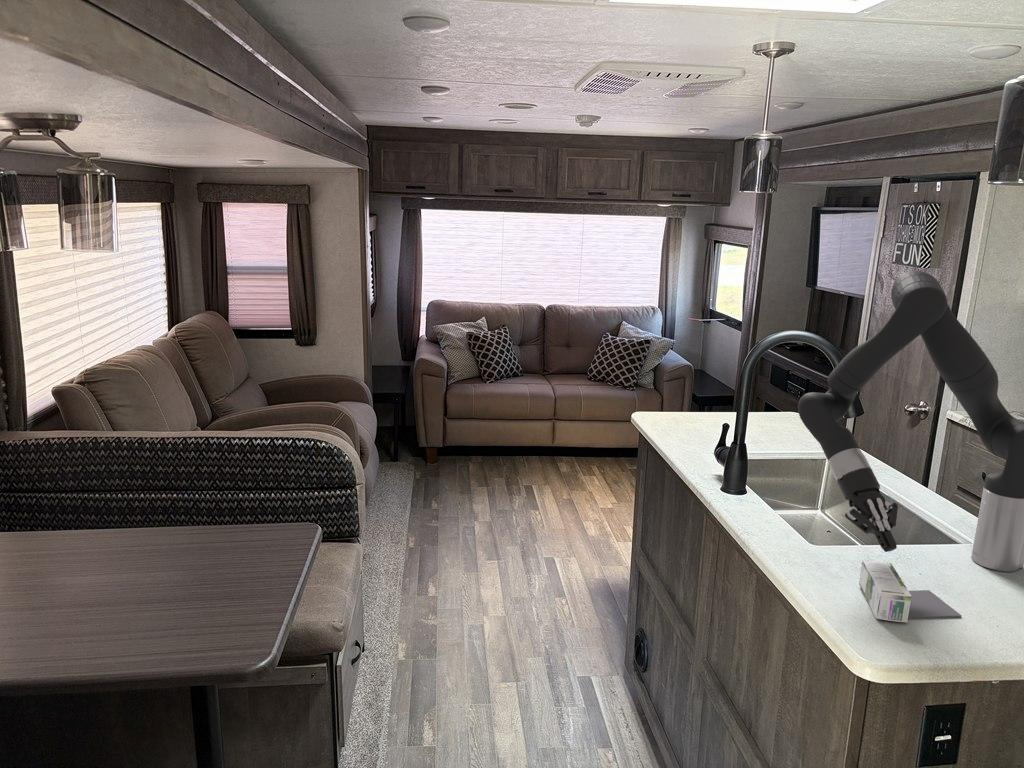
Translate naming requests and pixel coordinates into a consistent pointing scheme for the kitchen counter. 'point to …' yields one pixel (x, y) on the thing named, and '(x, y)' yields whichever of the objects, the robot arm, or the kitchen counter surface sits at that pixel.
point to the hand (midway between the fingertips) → (891, 550)
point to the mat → (929, 606)
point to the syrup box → (885, 591)
